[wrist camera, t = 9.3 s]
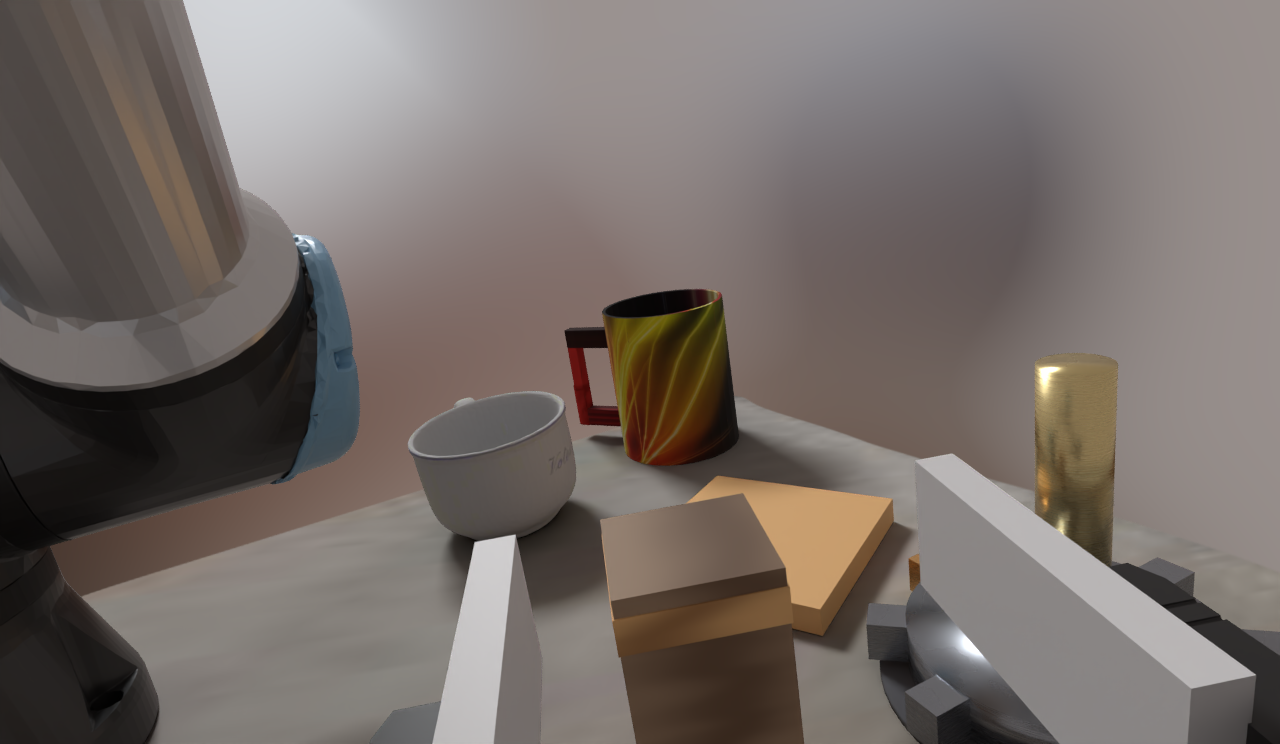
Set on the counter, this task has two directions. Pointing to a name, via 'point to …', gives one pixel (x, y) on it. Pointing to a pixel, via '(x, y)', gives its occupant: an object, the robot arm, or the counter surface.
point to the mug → (662, 376)
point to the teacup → (496, 464)
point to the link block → (703, 625)
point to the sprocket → (1067, 500)
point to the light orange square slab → (813, 539)
